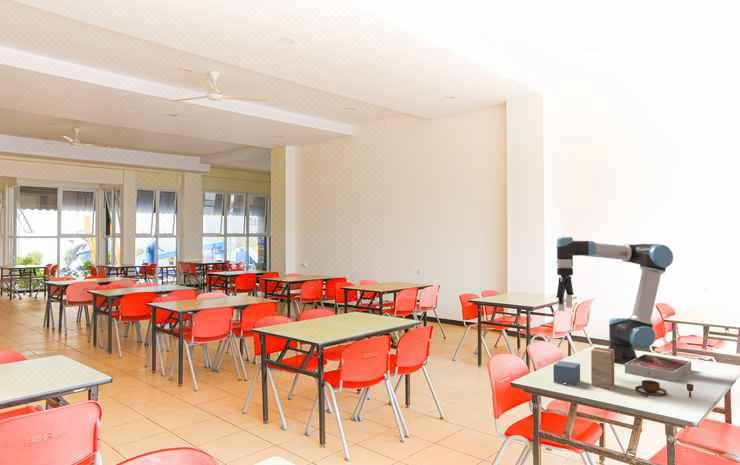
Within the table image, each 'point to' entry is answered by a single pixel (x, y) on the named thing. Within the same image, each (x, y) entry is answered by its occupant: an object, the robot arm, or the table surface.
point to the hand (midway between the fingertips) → (565, 309)
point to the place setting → (656, 388)
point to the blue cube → (567, 372)
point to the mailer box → (602, 367)
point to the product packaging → (658, 367)
